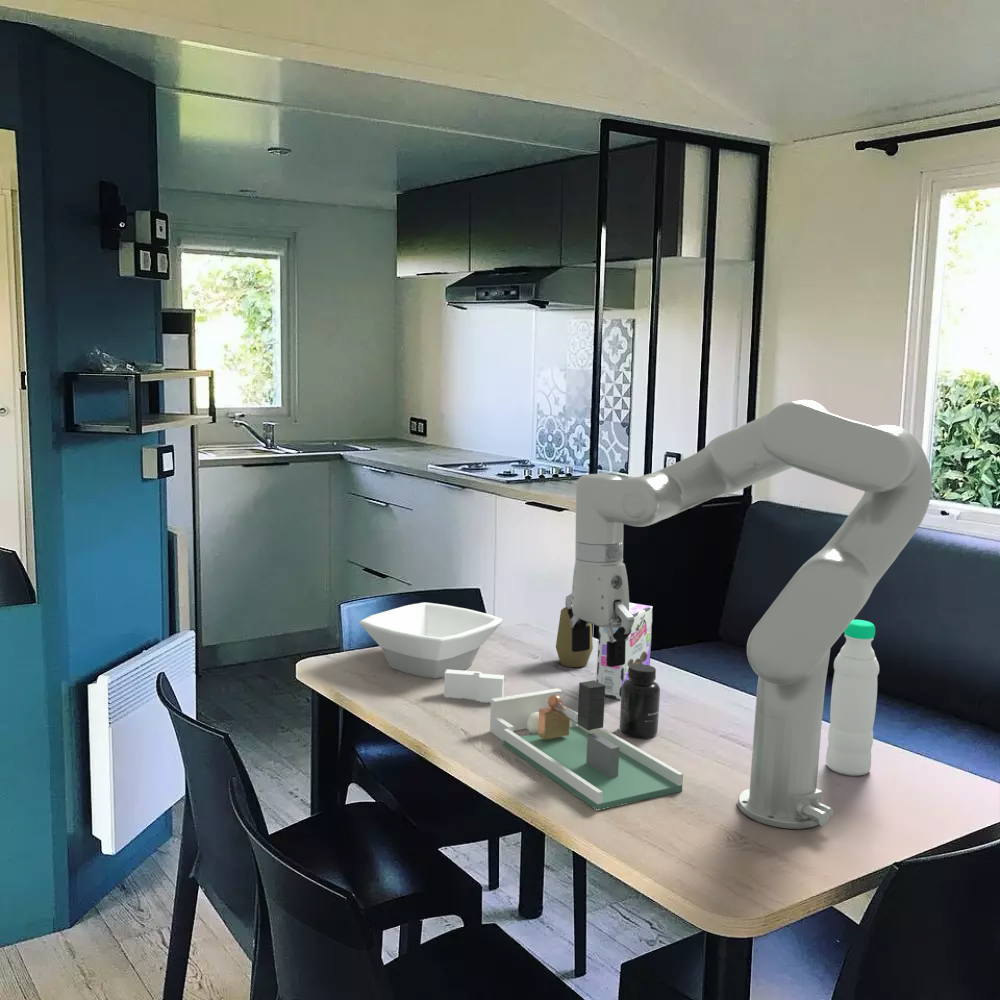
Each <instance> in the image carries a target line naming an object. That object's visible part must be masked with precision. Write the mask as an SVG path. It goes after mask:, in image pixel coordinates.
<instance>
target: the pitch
mask: <svg viewBox="0 0 1000 1000" xmlns="http://www.w3.org/2000/svg"><path fill="white" fill-rule="evenodd" d="M552 695H558V696H559V697H560V698H561V700H562V701H563V690H561V689H560V688H557V687H556V688H550V689H545V690H539V691H538V690H537V691H533V692H526V693H520V694H514V695H513V694H512V695H507V696H504V697H500V698H493V699H491V703H490V713H489V715H490V717H489V718H490V719H489V720H490V721H489V722H490V723H489V724H490V725H489V732H490V733H492V734H493V735H494V736H496V737H497V738H499V739H500V740H501V741H503V743H502V744H503V745H502V746H504V747H505V748H507V749H508V750H509V751H511V752H513V753H514V754H515V755H517V756H518V757H520V758H521V759H522V760H524V761H525V762H527V763H529V764H530V765H531V766H533V768H535V769H536V770H538V771H540V772H541V773H542V774H544V775H545V776H547V777H548V778H550V779H551V780H552V781H554V782H555V783H557V784H559V785H560V786H561V787H562V788H564V789H566V790H567V791H569V792H570V793H571V794H572V795H574V796H575V795H576V796H575V797H577V798H578V797H579V798H578V799H580V800H581V799H582V800H581V801H583V802H584V801H585V802H586V803H585V802H584V803H585V804H587V803H588V804H589V805H588V804H587V805H588V806H590V805H591V806H592V807H591V806H590V807H591V808H593V807H594V808H595V809H597V810H598V809H602V810H604V809H603V808H607V807H611V808H613V807H612V806H615V807H618V806H617V805H620V806H622V805H621V804H624V805H626V804H625V803H628V804H632V803H631V802H633V803H636V802H635V801H637V802H641V801H644V799H645V800H649V798H650V799H654V798H658V797H662V796H663V797H664V796H666V795H671V794H675V793H680V792H682V791H683V785H684V784H683V781H684V773H683V772H681V771H679V770H678V769H676V768H674V767H672V766H670V765H668V764H667V763H665V762H663V761H662V760H660V759H658V758H656V757H654V756H652V755H651V754H649V753H648V752H646V751H644V750H642V749H640V748H639V747H637V746H636V745H634V744H632V743H630V742H628V741H626V740H625V739H623V738H621V737H620V736H617V735H616V734H615V733H612V732H611V731H609V730H607V729H606V728H604V727H603V728H598V729H592V730H590V731H589V730H586V729H585V728H583V727H581V726H580V725H578V724H577V723H575V722H573V721H571V720H570V721H569V735H567V736H561V737H556V738H551V739H545V740H544V739H542V738H541V737H539V736H538V733H536V734H532V733H531V734H527V735H526V734H525V735H521V736H519V735H518V734H517V733H515V732H516V731H520V730H525V729H527V730H528V728H527V719H528V717H529V716H530V715H531V714H532V713H535V712H539V709H541V708H547V707H550V706H549V705H548V699H549V697H550V696H552ZM514 731H515V732H514ZM657 796H658V797H657ZM640 800H641V801H640ZM594 808H593V809H594ZM595 809H594V810H595ZM607 809H608V808H607ZM597 810H596V811H597ZM598 811H599V810H598Z"/></svg>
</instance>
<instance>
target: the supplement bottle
mask: <svg viewBox="0 0 1000 1000" xmlns="http://www.w3.org/2000/svg"><path fill="white" fill-rule="evenodd" d="M656 674H657V669H656V667H654V666H652V665H651V664H650V665H644V664H634V665H630V666H629V671H628V678H629V679H628V680H626V681H625V682H624V683H623V685H622V692H621V700H620V711H619V712H620V713H619V732H621V734H623V735H625V736H626V737H628V738H632V739H633V738H634V739H642V740H643V739H650V738H654V737H655V736H656V735H657V734H658V730H659V729H658V728H659V717H660V715H659V714H660V700H661V688H660V685H659V684H658V683H657V682H656V681H655V680H656V679H657V676H656Z"/></svg>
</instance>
